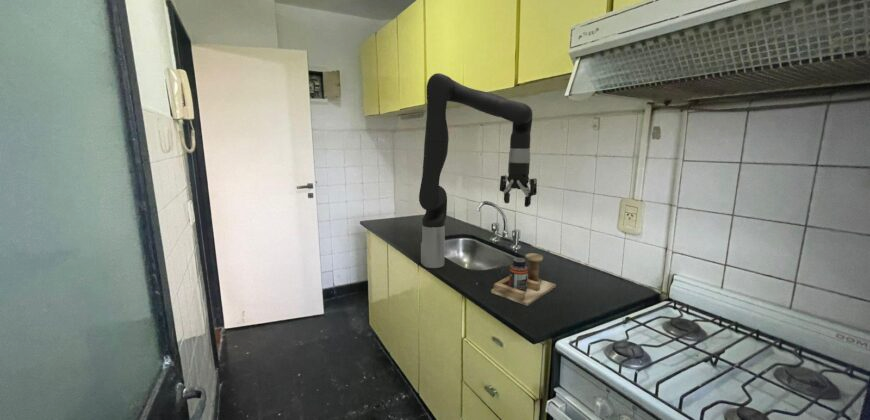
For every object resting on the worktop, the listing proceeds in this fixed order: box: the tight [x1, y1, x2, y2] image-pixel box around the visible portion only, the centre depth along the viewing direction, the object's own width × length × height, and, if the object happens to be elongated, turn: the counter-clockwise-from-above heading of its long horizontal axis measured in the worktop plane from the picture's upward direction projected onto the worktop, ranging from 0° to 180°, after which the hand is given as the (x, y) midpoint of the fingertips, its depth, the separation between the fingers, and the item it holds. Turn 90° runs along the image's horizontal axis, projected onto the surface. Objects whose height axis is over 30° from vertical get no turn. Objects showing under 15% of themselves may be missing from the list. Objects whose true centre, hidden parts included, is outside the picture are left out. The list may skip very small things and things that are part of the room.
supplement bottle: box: [509, 257, 529, 292], centre depth 120 cm, size 6×6×11 cm
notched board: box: [490, 275, 557, 307], centre depth 124 cm, size 14×20×4 cm
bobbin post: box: [525, 252, 544, 284], centre depth 127 cm, size 6×6×10 cm
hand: (516, 204), depth 131 cm, fingers open, 8 cm apart
